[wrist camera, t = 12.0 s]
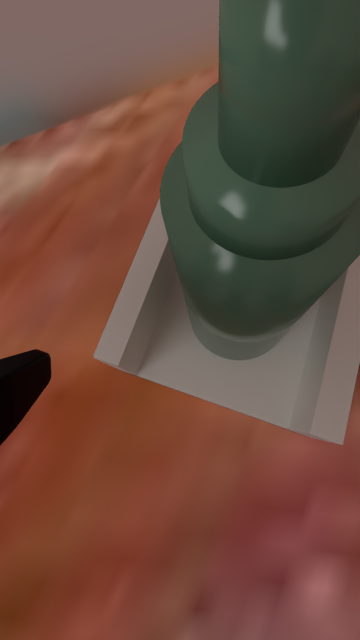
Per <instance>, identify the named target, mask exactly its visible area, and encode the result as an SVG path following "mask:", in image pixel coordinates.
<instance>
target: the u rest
mask: <svg viewBox="0 0 360 640" xmlns="http://www.w3.org/2000/svg"><path fill="white" fill-rule="evenodd" d="M93 357H94V358H96V359H98V360H100V361H102V362H104V363H106V364H108V365H110V366H113V367H115V368H117V369H119V370H121V371H124V372H127V373H130V374H133V375H136V376H138V377H141V378H144V379H147V380H150V381H153V382H155V383H158V384H161V385H164V386H167V387H169V388H172V389H175V390H178V391H181V392H184V393H186V394H189V395H192V396H195V397H198V398H200V399H203V400H206V401H209V402H212V403H215V404H217V405H220V406H223V407H226V408H229V409H232V410H234V411H237V412H240V413H243V414H246V415H248V416H251V417H254V418H257V419H260V420H263V421H265V422H268V423H271V424H274V425H277V426H279V427H282V428H285V429H288V430H291V431H294V432H296V433H299V434H302V435H305V436H308V437H311V438H315V439H319V440H323V441H327V442H332V443H336V444H340V445H343V442H344V437H345V432H346V427H347V422H348V417H349V412H350V407H351V402H352V397H353V393H354V388H355V383H356V378H357V373H358V368H359V363H360V255H359V256H358V257H357V259H356V260H355V261H354V262H353V263H352V264H351V265H350V266H349V267H348V268H347V269H346V270H345V271H344V272H343V273H342V275H341V276H340V277H339V278H338V279H337V280H336V281H335V282H334V283H333V284H332V285H331V286H330V287H329V288H328V289H327V290H326V292H325V293H324V294H323V295H322V296H321V297H320V298H319V299H318V300H317V301H316V302H315V303H314V304H313V305H312V306H311V308H310V309H309V310H308V311H307V312H306V313H305V314H304V315H303V316H302V317H301V318H300V319H299V320H298V321H297V322H296V323H295V325H294V326H293V327H292V328H291V329H290V330H289V331H288V332H287V333H286V334H285V335H284V336H283V337H282V338H281V339H280V341H279V342H278V343H277V344H276V345H275V346H274V347H273V348H272V349H270V350H269V351H268V352H266V353H265V354H263V355H261V356H259V357H256V358H253V359H249V360H230V359H226V358H222V357H220V356H217V355H216V354H214V353H212V352H211V351H209V350H208V349H206V348H205V347H204V346H203V345H202V344H201V342H200V341H199V340H198V338H197V337H196V335H195V333H194V331H193V329H192V325H191V322H190V318H189V314H188V311H187V307H186V303H185V299H184V296H183V292H182V288H181V284H180V281H179V277H178V273H177V269H176V266H175V262H174V258H173V254H172V251H171V247H170V243H169V239H168V236H167V232H166V228H165V224H164V221H163V217H162V213H161V206H160V199H159V201H158V203H157V206H156V208H155V210H154V213H153V215H152V218H151V220H150V222H149V225H148V227H147V229H146V232H145V234H144V237H143V239H142V241H141V244H140V246H139V248H138V251H137V253H136V256H135V258H134V260H133V263H132V265H131V267H130V270H129V272H128V275H127V277H126V279H125V282H124V284H123V286H122V289H121V291H120V294H119V296H118V298H117V301H116V303H115V305H114V308H113V310H112V313H111V315H110V317H109V320H108V322H107V324H106V327H105V329H104V332H103V334H102V336H101V339H100V341H99V343H98V346H97V348H96V351H95V353H94V355H93Z"/></svg>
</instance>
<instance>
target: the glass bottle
mask: <svg viewBox="0 0 360 640" xmlns="http://www.w3.org/2000/svg"><path fill="white" fill-rule="evenodd" d="M219 10H220V11H219V78H218V82H217V83H216V84H214V85H213V86H212V87H211V88H209V89H208V90H207V91H206V92H205V93H204V94H203V95H202V96H201V97H200V99H199V100H198V101H197V102H196V104H195V105H194V107H193V108H192V110H191V112H190V114H189V116H188V118H187V120H186V123H185V127H184V131H183V137H182V142H181V143H180V144H179V145H178V146H177V148H176V149H175V151H174V152H173V154H172V155H171V157H170V159H169V161H168V163H167V165H166V168H165V171H164V174H163V177H162V181H161V187H160V206H161V213H162V217H163V221H164V224H165V228H166V232H167V236H168V239H169V243H170V247H171V251H172V254H173V258H174V262H175V266H176V269H177V273H178V277H179V281H180V284H181V288H182V292H183V296H184V299H185V303H186V307H187V311H188V314H189V318H190V322H191V325H192V329H193V331H194V333H195V335H196V337H197V338H198V340H199V341H200V342H201V344H202V345H203V346H204V347H205V348H206V349H208V350H209V351H211V352H212V353H214V354H216V355H217V356H220V357H222V358H226V359H230V360H249V359H253V358H256V357H259V356H261V355H263V354H265V353H266V352H268V351H269V350H270V349H272V348H273V347H274V346H275V345H276V344H277V343H278V342H279V341H280V339H281V338H282V337H283V336H284V335H285V334H286V333H287V332H288V331H289V330H290V329H291V328H292V327H293V326H294V325H295V323H296V322H297V321H298V320H299V319H300V318H301V317H302V316H303V315H304V314H305V313H306V312H307V311H308V310H309V309H310V308H311V306H312V305H313V304H314V303H315V302H316V301H317V300H318V299H319V298H320V297H321V296H322V295H323V294H324V293H325V292H326V290H327V289H328V288H329V287H330V286H331V285H332V284H333V283H334V282H335V281H336V280H337V279H338V278H339V277H340V276H341V275H342V273H343V272H344V271H345V270H346V269H347V268H348V267H349V266H350V265H351V264H352V263H353V262H354V261H355V260H356V259H357V257H358V256H359V255H360V0H220V5H219Z"/></svg>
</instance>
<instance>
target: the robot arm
mask: <svg viewBox="0 0 360 640" xmlns="http://www.w3.org/2000/svg"><path fill="white" fill-rule="evenodd" d="M50 379H51V358H50V355H49V354H48V353H46V352H43V351H40V350H37V349H35V350H31V351H27V352H24V353H20V354H17V355H13V356H10V357H6V358H3V359H0V445H1V444H2V443H3V442H4V441H5V440H6V438H7V437H8V436H9V435H10V434H11V433H12V432H13V430H14V429H15V428H16V427H17V426H18V424H19V423H20V422H21V420H22V419H23V418H24V416H25V415H26V414H27V412H28V411H29V410H30V408H31V407H32V405H33V404H34V403H35V401H36V400H37V399H38V397H39V396H40V394H41V393H42V392H43V390H44V389H45V388H46V386H47V385H48V383H49V381H50Z"/></svg>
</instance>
